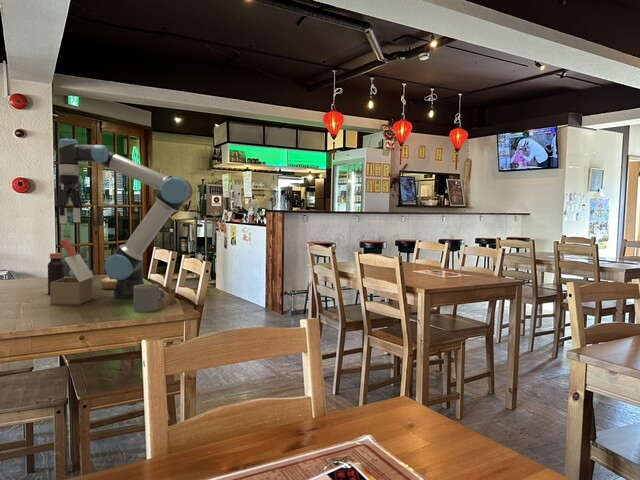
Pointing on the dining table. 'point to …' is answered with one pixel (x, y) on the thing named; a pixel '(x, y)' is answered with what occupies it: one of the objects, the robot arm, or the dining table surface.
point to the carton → (70, 291)
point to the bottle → (55, 269)
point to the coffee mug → (147, 297)
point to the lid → (76, 262)
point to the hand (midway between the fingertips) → (70, 222)
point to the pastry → (108, 283)
